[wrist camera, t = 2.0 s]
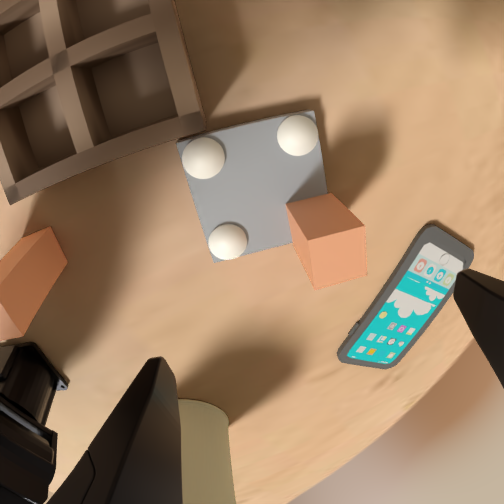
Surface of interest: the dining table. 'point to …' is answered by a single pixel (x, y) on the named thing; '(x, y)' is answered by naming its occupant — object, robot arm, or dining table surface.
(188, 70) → the socket block
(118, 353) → the dining table surface
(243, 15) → the dining table surface
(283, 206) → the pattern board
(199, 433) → the can
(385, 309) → the smartphone
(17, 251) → the peg
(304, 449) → the dining table surface
